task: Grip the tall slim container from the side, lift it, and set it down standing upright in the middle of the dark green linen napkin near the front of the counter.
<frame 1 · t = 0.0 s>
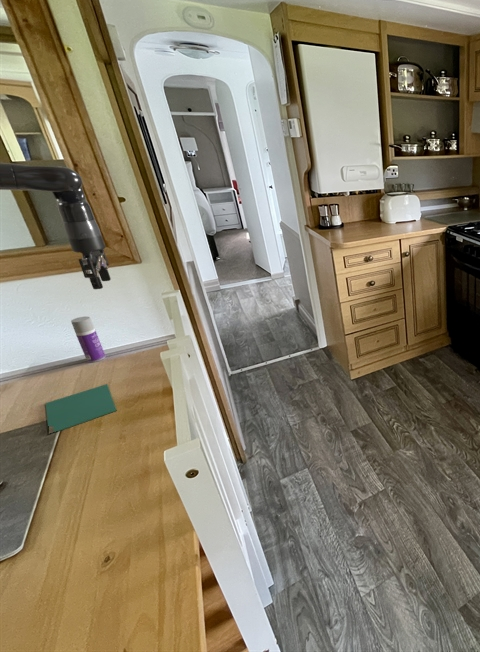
hand: (102, 284, 122), 26 cm above the table, tool pointing down, fingers open, 8 cm apart
container: (96, 359, 129), on the table
napkin: (80, 407, 105), on the table
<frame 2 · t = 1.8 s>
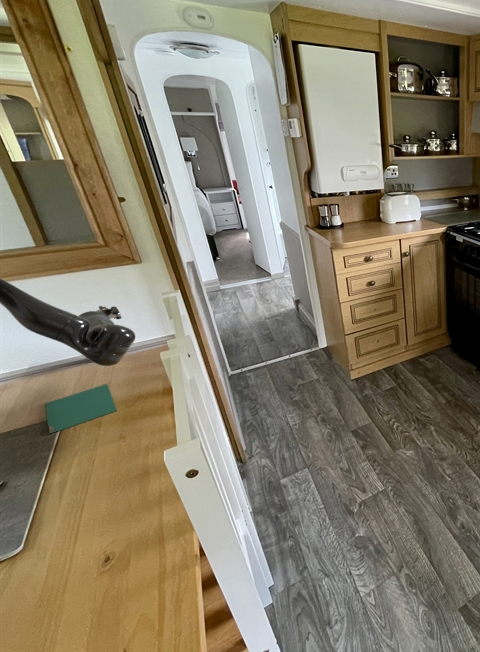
hand: (82, 313, 115), 20 cm above the table, tool horizontal, fingers open, 8 cm apart
nothing on the table moved.
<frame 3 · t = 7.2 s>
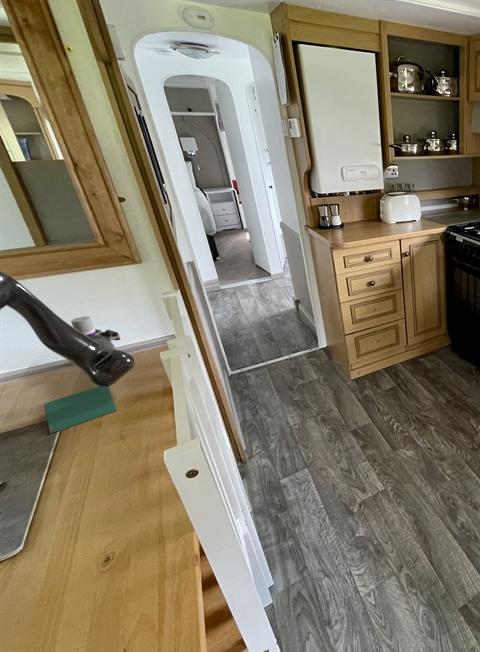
hand: (85, 334, 127), 8 cm above the table, tool horizontal, fingers closed on container, 4 cm apart
container: (96, 359, 129), on the table, touching gripper
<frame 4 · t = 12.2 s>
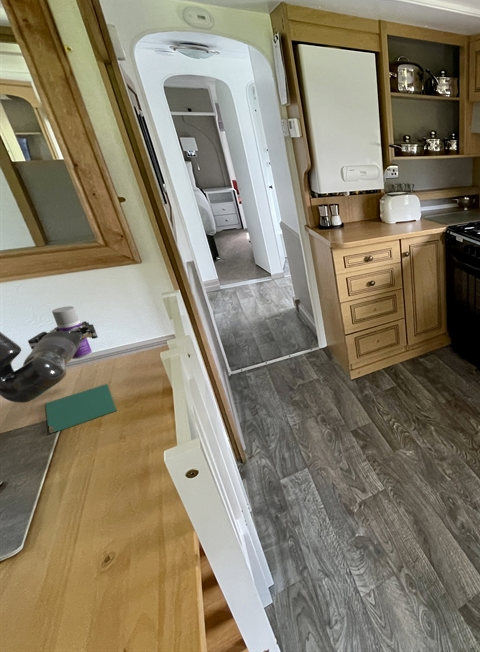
hand: (73, 326, 112), 18 cm above the table, tool horizontal, fingers closed on container, 4 cm apart
container: (81, 355, 113), point 9 cm above the table, touching gripper
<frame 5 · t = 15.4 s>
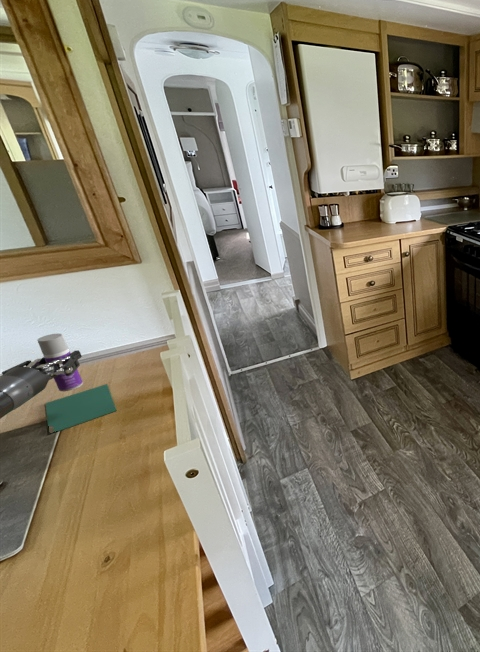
hand: (66, 354, 101), 15 cm above the table, tool horizontal, fingers closed on container, 4 cm apart
container: (71, 387, 102), point 7 cm above the table, touching gripper
when the fingers open (9 cm above the table, at t = 17.7 s): container stays where it is, resting on napkin.
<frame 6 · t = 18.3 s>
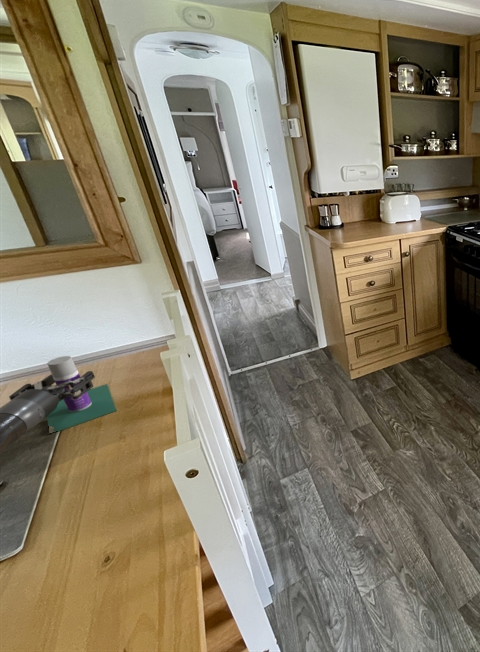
hand: (73, 375, 103), 9 cm above the table, tool horizontal, fingers open, 8 cm apart
container: (80, 407, 105), resting on napkin
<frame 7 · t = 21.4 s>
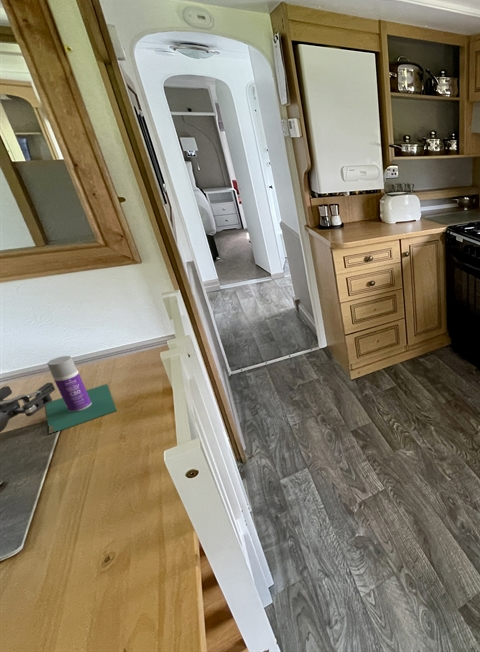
hand: (30, 387, 91), 14 cm above the table, tool horizontal, fingers open, 8 cm apart
nothing on the table moved.
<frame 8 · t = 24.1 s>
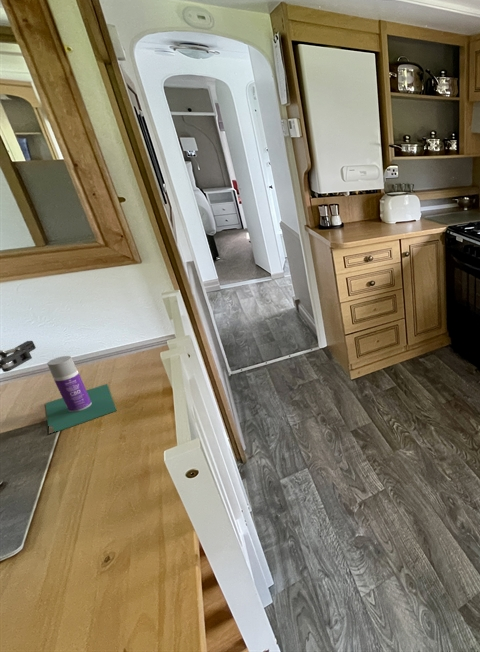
hand: (9, 345, 86), 25 cm above the table, tool horizontal, fingers open, 8 cm apart
nothing on the table moved.
at the end: container inside the target area on the napkin (0.1 cm from its centre), point 0.1 cm above the napkin's base; container tilted 0°; the gripper is holding nothing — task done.
